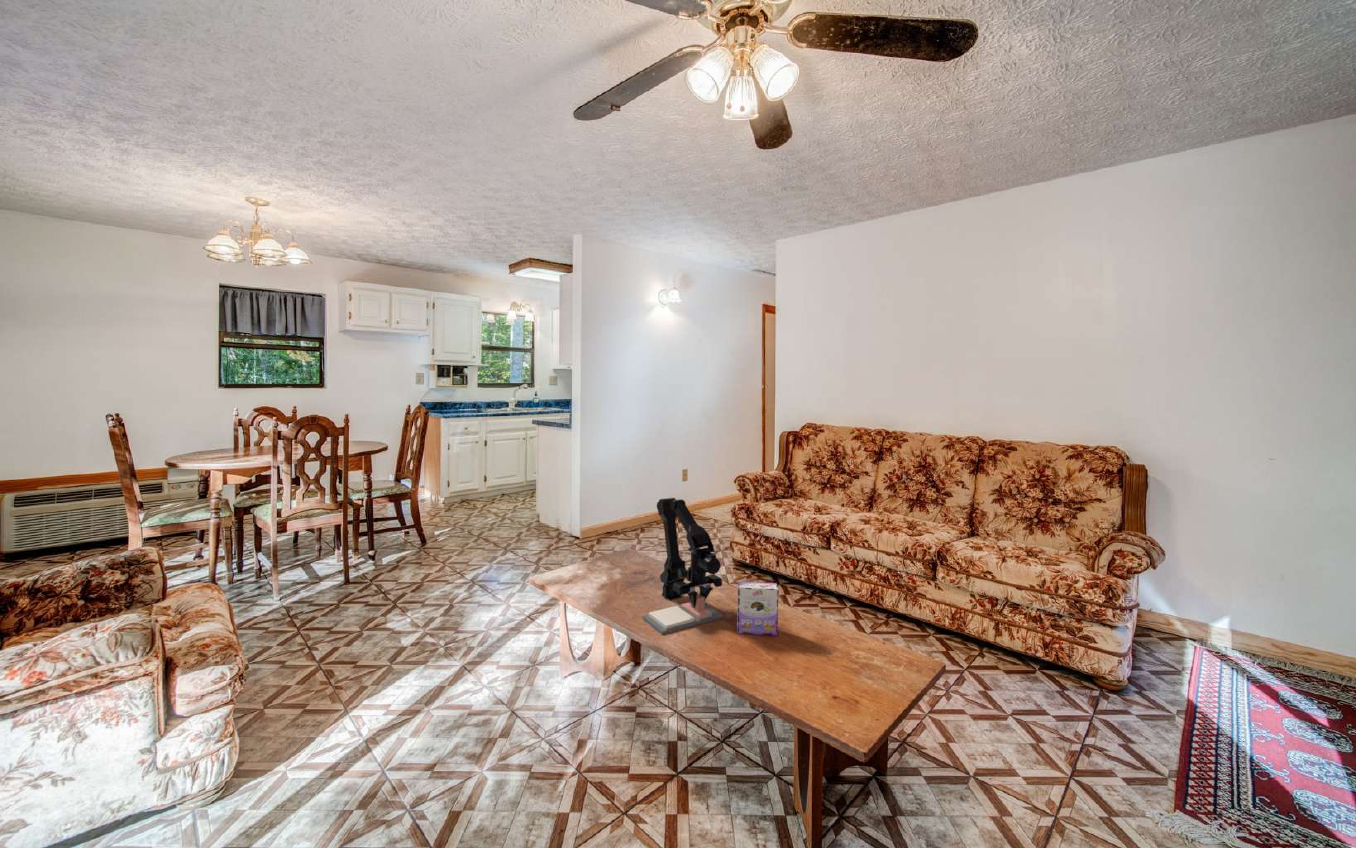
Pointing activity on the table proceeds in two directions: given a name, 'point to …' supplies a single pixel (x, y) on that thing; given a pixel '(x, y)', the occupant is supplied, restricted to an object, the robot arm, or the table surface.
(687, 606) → the stub
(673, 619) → the spiral notepad
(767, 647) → the table surface
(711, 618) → the mat
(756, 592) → the candy box
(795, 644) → the table surface
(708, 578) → the robot arm
